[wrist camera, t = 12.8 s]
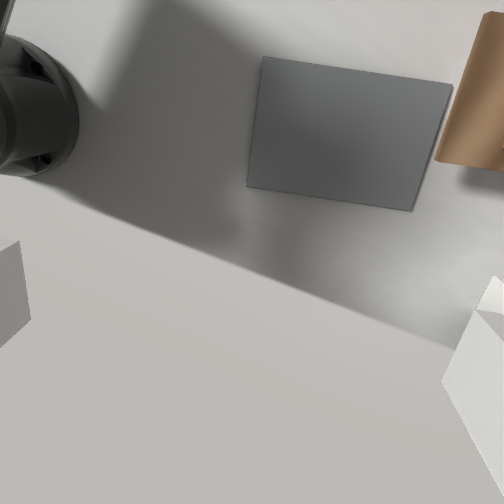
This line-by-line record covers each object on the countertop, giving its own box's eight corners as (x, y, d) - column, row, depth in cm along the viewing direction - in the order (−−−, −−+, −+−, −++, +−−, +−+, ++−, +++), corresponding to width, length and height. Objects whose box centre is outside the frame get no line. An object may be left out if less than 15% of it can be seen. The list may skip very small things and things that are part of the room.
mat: (246, 185, 44) (246, 186, 44) (263, 56, 39) (263, 56, 38) (408, 209, 44) (410, 211, 44) (450, 84, 38) (452, 84, 38)
